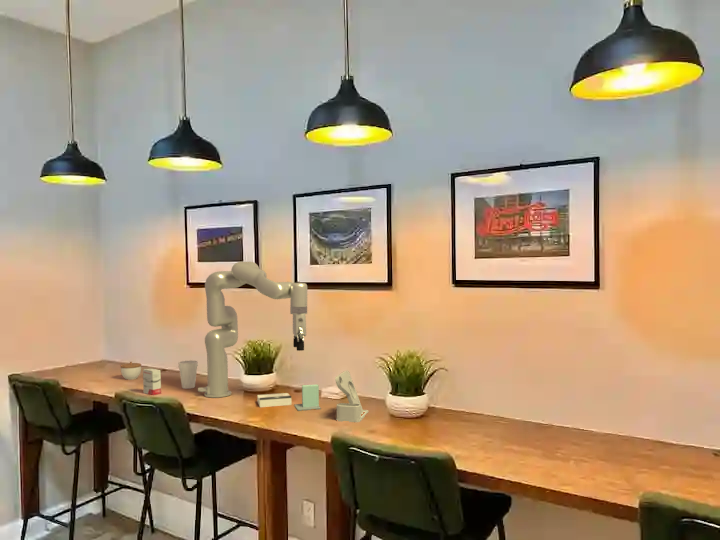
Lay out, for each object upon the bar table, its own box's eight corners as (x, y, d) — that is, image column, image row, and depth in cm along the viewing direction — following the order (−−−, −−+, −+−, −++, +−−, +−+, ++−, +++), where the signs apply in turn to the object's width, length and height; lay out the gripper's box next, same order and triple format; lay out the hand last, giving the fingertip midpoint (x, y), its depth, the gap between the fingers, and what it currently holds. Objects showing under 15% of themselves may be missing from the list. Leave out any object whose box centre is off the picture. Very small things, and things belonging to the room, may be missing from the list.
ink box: (161, 393, 294) (161, 369, 294) (152, 395, 290) (152, 371, 290) (151, 391, 300) (151, 367, 299) (142, 393, 296) (142, 369, 296)
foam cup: (175, 388, 305) (174, 363, 305) (185, 384, 314) (185, 360, 314) (191, 389, 302) (191, 363, 302) (201, 385, 311) (201, 360, 311)
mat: (297, 410, 258) (297, 409, 257) (294, 405, 267) (294, 404, 267) (320, 409, 260) (320, 407, 260) (316, 403, 270) (316, 402, 270)
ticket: (303, 407, 262) (302, 386, 262) (302, 405, 264) (301, 385, 264) (318, 405, 264) (318, 385, 264) (317, 404, 266) (317, 384, 266)
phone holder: (359, 422, 238) (358, 377, 238) (334, 421, 241) (334, 376, 240) (369, 411, 255) (368, 369, 255) (346, 410, 257) (345, 368, 257)
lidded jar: (121, 377, 336) (121, 360, 336) (142, 376, 340) (141, 359, 339) (120, 381, 326) (119, 363, 326) (140, 379, 329) (140, 362, 329)
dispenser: (259, 407, 265) (259, 398, 265) (257, 401, 275) (257, 392, 275) (291, 404, 268) (291, 395, 268) (287, 399, 279) (287, 390, 279)
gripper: (310, 312, 260) (310, 351, 261) (304, 308, 277) (303, 345, 278) (293, 312, 259) (293, 352, 259) (287, 308, 275) (287, 346, 276)
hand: (298, 348), depth 268 cm, fingers open, 9 cm apart
